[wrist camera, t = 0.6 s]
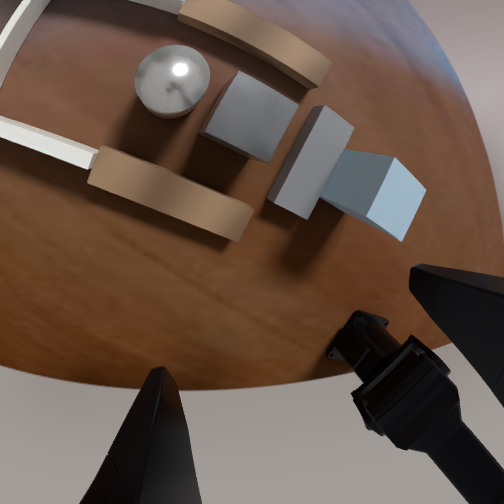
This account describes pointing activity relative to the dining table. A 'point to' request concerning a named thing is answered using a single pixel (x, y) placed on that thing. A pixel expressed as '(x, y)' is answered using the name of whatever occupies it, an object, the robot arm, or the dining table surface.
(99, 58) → the dining table surface
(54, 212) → the dining table surface
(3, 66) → the white bevelled strip
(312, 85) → the slot rails
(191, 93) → the silver rounded piece
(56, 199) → the dining table surface
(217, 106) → the block
